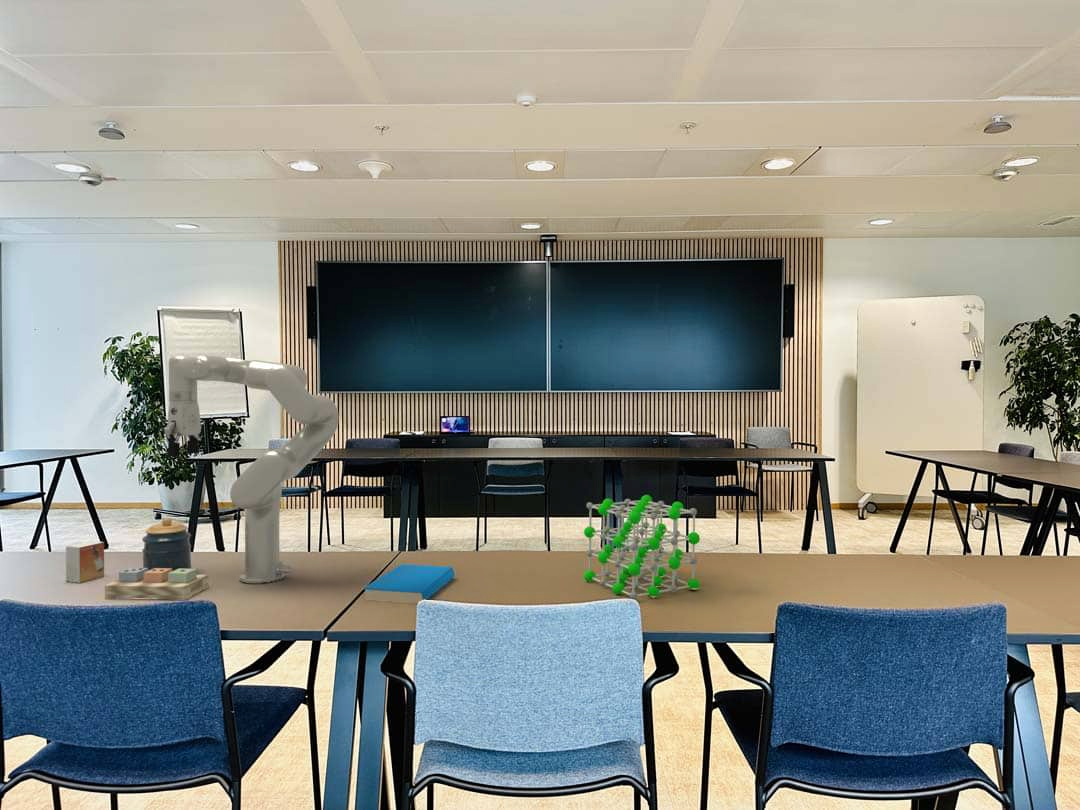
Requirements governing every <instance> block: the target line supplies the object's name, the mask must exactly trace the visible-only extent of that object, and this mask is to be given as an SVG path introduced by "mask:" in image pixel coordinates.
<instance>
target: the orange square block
mask: <svg viewBox="0 0 1080 810" xmlns="http://www.w3.org/2000/svg"><path fill="white" fill-rule="evenodd" d="M170 572H172V568H154V569H152V570H149V571H147V572H144V583H163V582H165V581H167V580H168V573H170Z"/></svg>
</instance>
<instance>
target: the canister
mask: <svg viewBox="0 0 1080 810" xmlns="http://www.w3.org/2000/svg"><path fill="white" fill-rule="evenodd" d="M188 529H189V527H188V526H187V525H185V524H183V523H181V522H173V521H172V519H171V518H170V517H164V518H163V519H162V520H161V523H156V524H153V525H151V526H150V527H148V528H147V529H145V533H146V535H145V536H143V537H142V539H141V540H142V542H143V546H144V547H143V548H142V551H141V552H142V568H148V571H149V570H152V569H154V568H172V571H175V570H177V569H192V559H191V558H192V557H191V556H192V553H191V552H192V551H191V549H192V548H191V547H192V545H191V543H190V538H191V536H192V534H191V533H190V532H188V531H187V530H188Z"/></svg>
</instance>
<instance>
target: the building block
mask: <svg viewBox="0 0 1080 810" xmlns="http://www.w3.org/2000/svg"><path fill="white" fill-rule="evenodd" d="M147 571H148V568H143V567H129V568H127V569H123V570H122V571H118V580H119V582H128V583H137V582H140V581H142V580H144V572H147Z"/></svg>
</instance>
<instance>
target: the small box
mask: <svg viewBox="0 0 1080 810" xmlns="http://www.w3.org/2000/svg"><path fill="white" fill-rule="evenodd" d="M65 574H66V575H65V581H66V582H67V581H69V583H76V582H77V583H78V584H80V583H84V582H87V581H91V580H95V578H96V579H99V577H100V578H104V577H105V542H104V541H98V540H97V541H96V540H95V541H94V540H88V541H85V542H80V543H76V544H72V545H66V546H65ZM103 576H104V577H103Z"/></svg>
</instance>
